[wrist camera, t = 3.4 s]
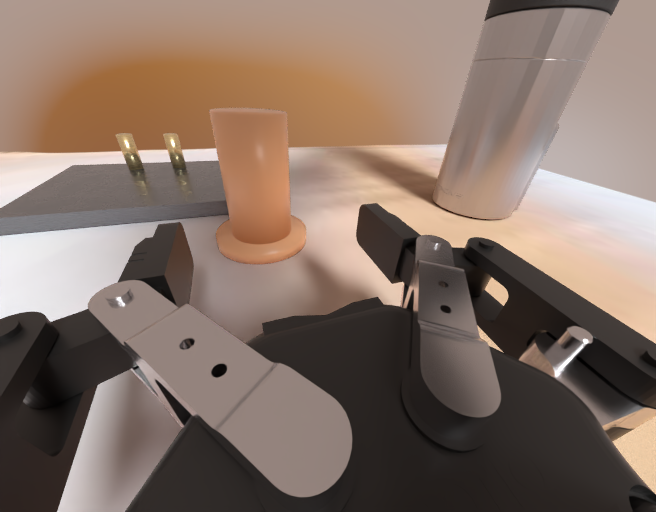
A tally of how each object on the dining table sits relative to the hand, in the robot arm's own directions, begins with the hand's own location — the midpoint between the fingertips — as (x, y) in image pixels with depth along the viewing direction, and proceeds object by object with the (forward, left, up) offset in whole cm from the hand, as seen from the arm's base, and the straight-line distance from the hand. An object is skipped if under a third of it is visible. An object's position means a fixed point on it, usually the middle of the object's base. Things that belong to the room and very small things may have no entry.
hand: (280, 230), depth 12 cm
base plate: (+11, -24, -6) cm, 27 cm away
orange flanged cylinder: (0, -10, -6) cm, 11 cm away
